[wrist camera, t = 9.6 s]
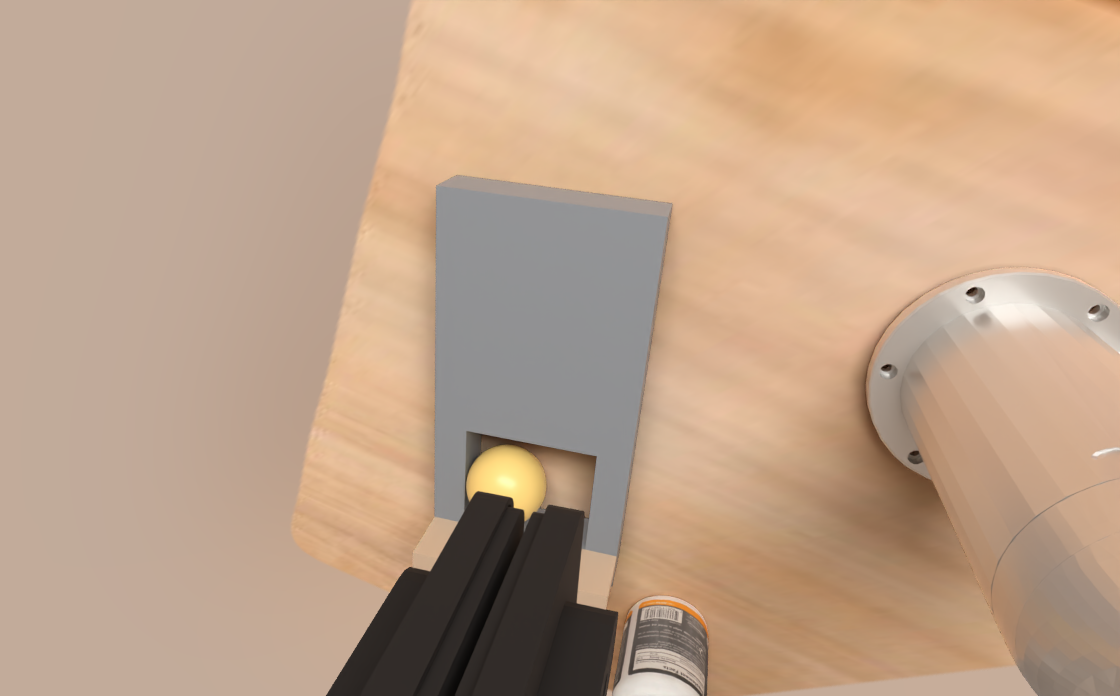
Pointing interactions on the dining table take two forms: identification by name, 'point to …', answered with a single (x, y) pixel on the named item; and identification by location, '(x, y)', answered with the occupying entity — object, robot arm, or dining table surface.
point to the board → (543, 343)
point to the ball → (509, 477)
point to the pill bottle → (663, 650)
